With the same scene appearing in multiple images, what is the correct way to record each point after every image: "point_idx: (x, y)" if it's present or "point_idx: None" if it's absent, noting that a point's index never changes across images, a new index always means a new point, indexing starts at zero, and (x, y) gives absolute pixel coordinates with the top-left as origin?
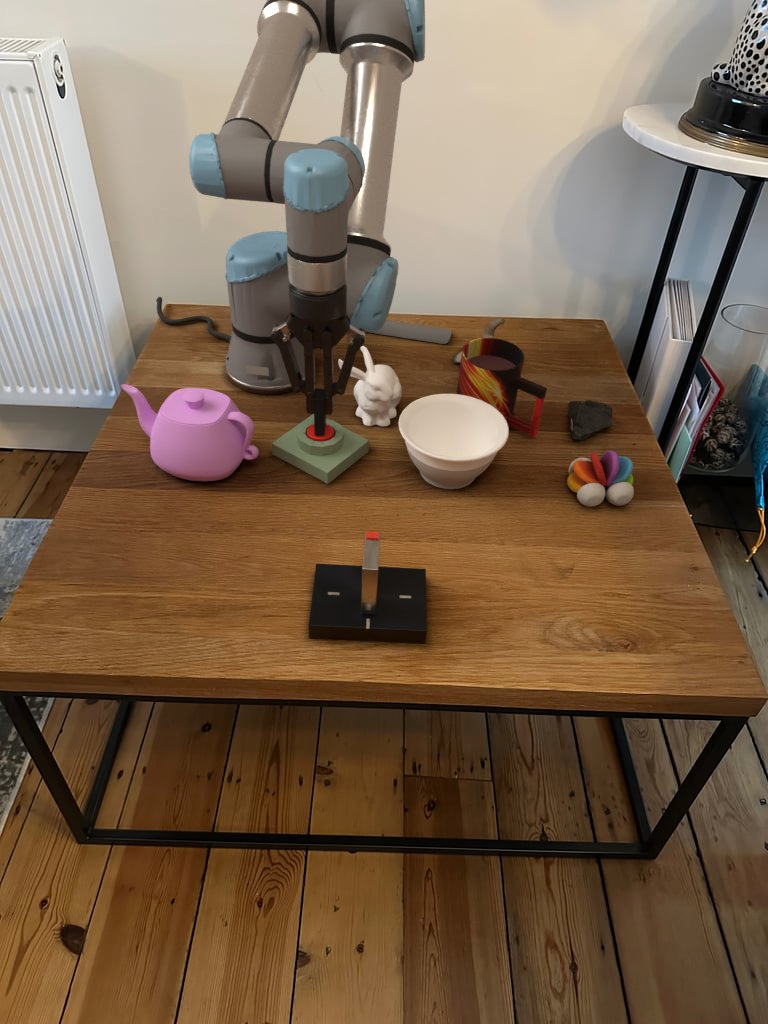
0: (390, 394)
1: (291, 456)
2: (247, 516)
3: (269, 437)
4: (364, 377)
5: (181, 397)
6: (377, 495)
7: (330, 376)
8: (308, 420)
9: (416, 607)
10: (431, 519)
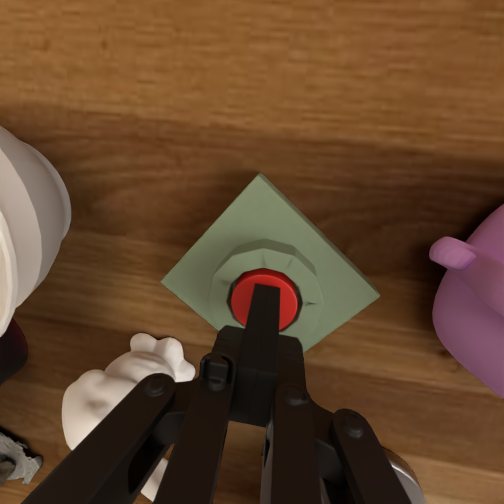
0: (71, 385)
1: (337, 252)
2: (477, 56)
3: (367, 331)
4: None
5: None
6: (152, 124)
7: (169, 484)
8: None
9: None
10: (28, 23)
